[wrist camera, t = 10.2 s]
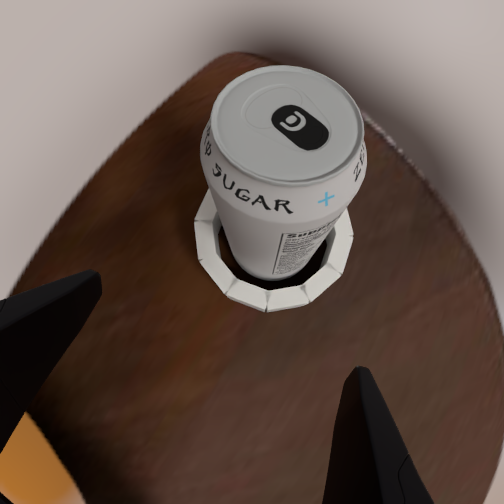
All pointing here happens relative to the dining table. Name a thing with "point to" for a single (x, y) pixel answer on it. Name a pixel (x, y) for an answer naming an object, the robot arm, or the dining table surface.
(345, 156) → the energy drink can
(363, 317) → the dining table surface
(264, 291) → the socket collar
